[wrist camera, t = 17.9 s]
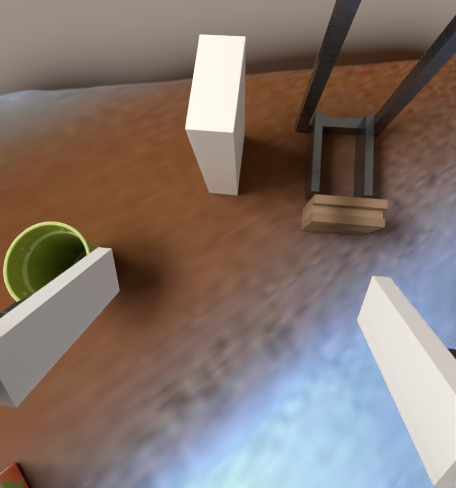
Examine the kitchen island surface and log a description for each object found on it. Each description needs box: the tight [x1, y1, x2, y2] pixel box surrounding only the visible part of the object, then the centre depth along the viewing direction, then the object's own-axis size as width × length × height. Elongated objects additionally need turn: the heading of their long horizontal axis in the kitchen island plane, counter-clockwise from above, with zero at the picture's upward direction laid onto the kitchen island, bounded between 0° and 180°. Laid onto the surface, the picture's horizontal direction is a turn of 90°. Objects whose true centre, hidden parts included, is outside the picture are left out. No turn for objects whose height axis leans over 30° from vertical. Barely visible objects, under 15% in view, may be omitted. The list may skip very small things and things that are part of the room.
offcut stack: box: [301, 194, 388, 236], centre depth 31 cm, size 8×3×6 cm, turn 84°
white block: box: [185, 35, 245, 195], centre depth 28 cm, size 4×9×15 cm, turn 173°
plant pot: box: [4, 222, 98, 301], centre depth 30 cm, size 9×9×9 cm
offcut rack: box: [295, 0, 456, 199], centre depth 24 cm, size 12×12×21 cm
